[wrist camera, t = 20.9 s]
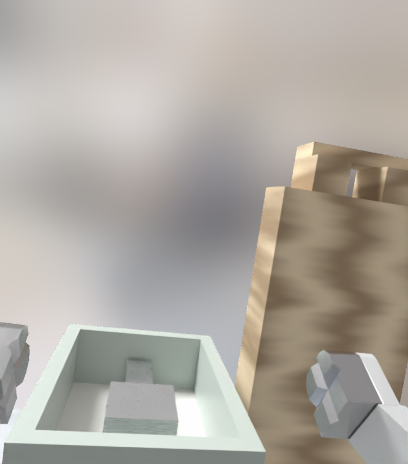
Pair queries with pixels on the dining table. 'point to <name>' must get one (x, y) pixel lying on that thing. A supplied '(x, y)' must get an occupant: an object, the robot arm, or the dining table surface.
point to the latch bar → (140, 404)
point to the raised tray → (114, 369)
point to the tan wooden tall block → (324, 293)
